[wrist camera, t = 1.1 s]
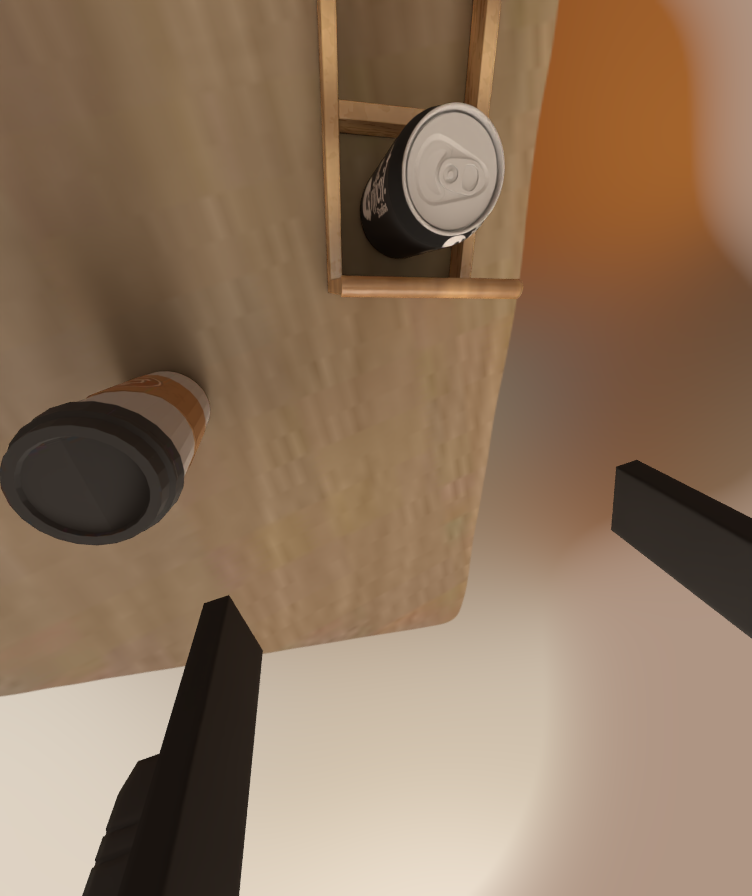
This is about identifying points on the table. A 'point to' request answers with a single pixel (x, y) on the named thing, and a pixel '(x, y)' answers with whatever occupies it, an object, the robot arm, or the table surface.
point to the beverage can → (434, 182)
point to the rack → (390, 124)
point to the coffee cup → (106, 459)
